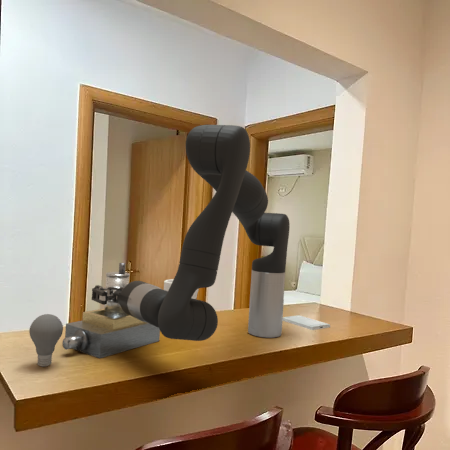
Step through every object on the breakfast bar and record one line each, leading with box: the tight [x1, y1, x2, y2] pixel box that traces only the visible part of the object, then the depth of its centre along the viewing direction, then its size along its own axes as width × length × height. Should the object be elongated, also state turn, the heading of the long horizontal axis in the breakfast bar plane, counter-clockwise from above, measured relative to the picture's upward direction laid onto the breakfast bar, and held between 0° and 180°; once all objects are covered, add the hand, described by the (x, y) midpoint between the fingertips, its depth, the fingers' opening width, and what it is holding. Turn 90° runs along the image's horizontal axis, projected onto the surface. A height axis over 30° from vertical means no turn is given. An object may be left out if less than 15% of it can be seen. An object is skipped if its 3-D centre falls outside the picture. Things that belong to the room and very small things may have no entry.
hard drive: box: [282, 314, 331, 331], centre depth 129 cm, size 2×8×12 cm
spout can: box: [103, 262, 130, 318], centre depth 97 cm, size 5×5×14 cm
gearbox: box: [61, 308, 161, 359], centre depth 96 cm, size 22×12×7 cm, turn 146°
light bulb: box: [29, 313, 64, 368], centre depth 81 cm, size 6×6×10 cm
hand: (113, 288), depth 99 cm, fingers open, 8 cm apart
